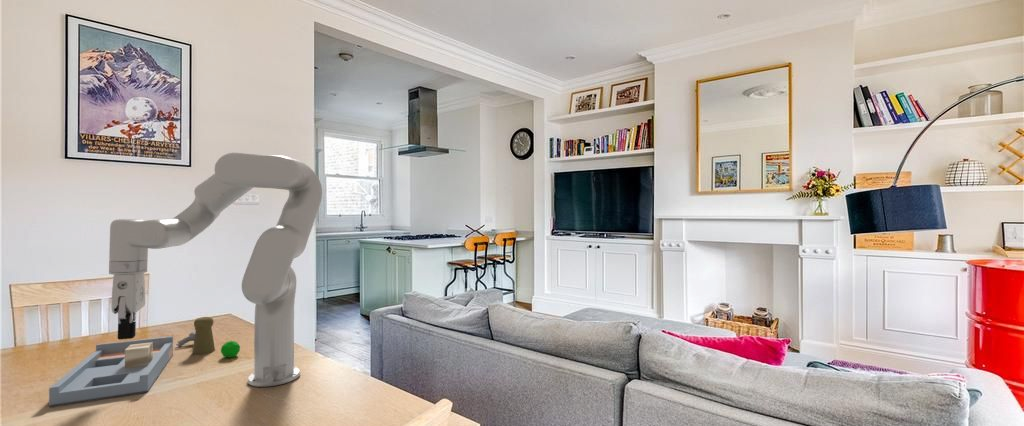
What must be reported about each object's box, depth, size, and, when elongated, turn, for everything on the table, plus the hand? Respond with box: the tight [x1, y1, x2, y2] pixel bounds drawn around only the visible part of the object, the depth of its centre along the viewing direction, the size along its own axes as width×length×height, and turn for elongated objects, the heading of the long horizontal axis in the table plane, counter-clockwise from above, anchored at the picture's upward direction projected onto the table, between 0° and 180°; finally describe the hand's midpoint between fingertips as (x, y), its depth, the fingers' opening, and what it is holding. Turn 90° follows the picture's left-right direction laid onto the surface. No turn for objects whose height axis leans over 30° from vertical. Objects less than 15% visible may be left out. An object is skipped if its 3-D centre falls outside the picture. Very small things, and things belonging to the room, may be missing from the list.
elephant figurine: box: [176, 327, 196, 348], centre depth 151 cm, size 10×6×9 cm
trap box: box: [48, 335, 174, 408], centre depth 121 cm, size 32×18×6 cm, turn 28°
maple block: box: [125, 342, 153, 368], centre depth 123 cm, size 5×5×5 cm
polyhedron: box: [220, 340, 241, 359], centre depth 138 cm, size 5×5×5 cm
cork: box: [192, 316, 216, 355], centre depth 143 cm, size 6×6×11 cm
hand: (126, 338), depth 115 cm, fingers closed
